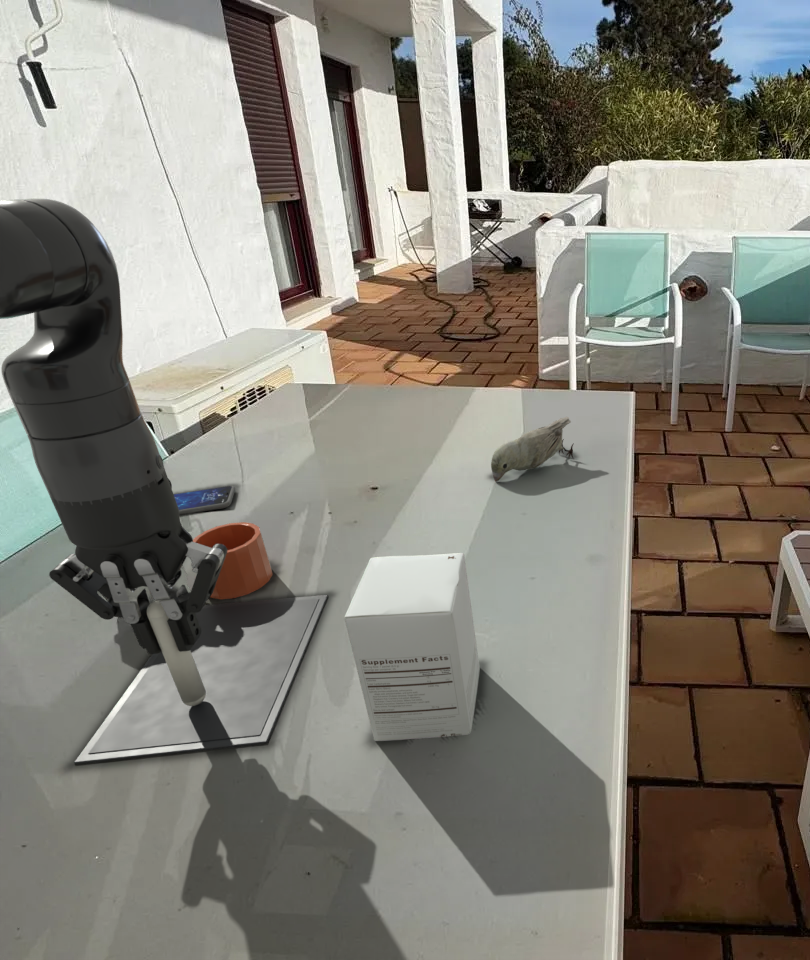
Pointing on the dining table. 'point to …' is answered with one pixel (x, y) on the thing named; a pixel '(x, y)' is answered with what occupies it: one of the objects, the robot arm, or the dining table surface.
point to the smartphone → (204, 499)
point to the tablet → (214, 684)
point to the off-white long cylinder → (176, 658)
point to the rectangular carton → (415, 646)
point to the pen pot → (238, 559)
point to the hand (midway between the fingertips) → (174, 645)
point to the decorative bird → (530, 449)
